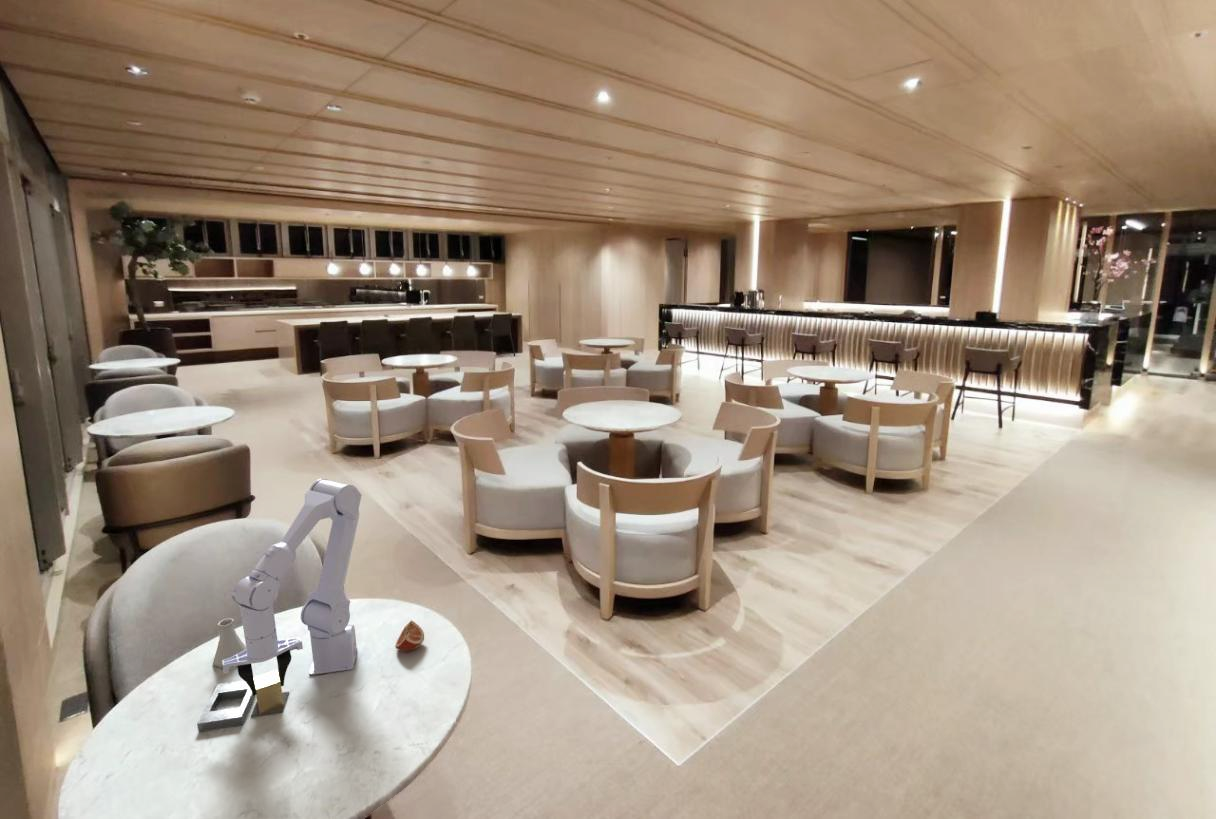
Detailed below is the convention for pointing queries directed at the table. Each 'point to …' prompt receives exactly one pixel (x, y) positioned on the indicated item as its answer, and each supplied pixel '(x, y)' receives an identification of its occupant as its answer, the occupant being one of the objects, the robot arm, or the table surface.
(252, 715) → the flat gray plate
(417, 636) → the fruit slice
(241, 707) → the gray rectangular frame
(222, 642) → the flask
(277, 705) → the block
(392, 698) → the table surface
